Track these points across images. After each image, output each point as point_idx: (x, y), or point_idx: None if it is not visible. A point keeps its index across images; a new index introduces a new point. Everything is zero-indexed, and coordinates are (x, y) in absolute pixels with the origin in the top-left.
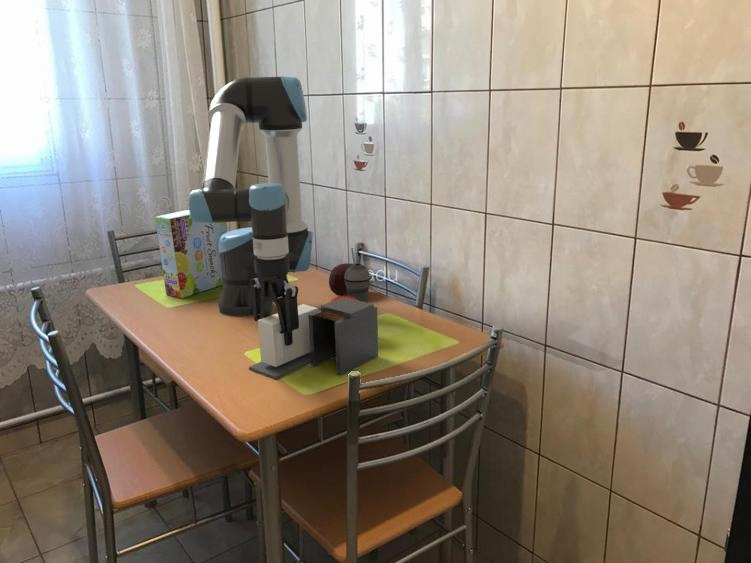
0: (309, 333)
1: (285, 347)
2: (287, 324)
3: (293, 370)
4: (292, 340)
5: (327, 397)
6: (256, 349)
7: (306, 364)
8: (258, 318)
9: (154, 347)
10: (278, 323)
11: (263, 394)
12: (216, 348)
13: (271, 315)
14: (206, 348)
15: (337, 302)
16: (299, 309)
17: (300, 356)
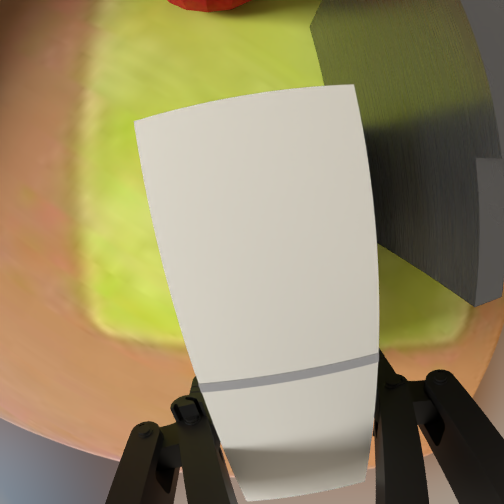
0: (407, 261)
1: None
2: (430, 438)
3: None
4: (380, 351)
5: (494, 305)
6: (91, 287)
7: None
8: (176, 464)
9: (6, 415)
10: (367, 458)
11: None
12: (40, 356)
13: (227, 451)
14: (33, 369)
15: (495, 6)
16: (258, 246)
17: None
